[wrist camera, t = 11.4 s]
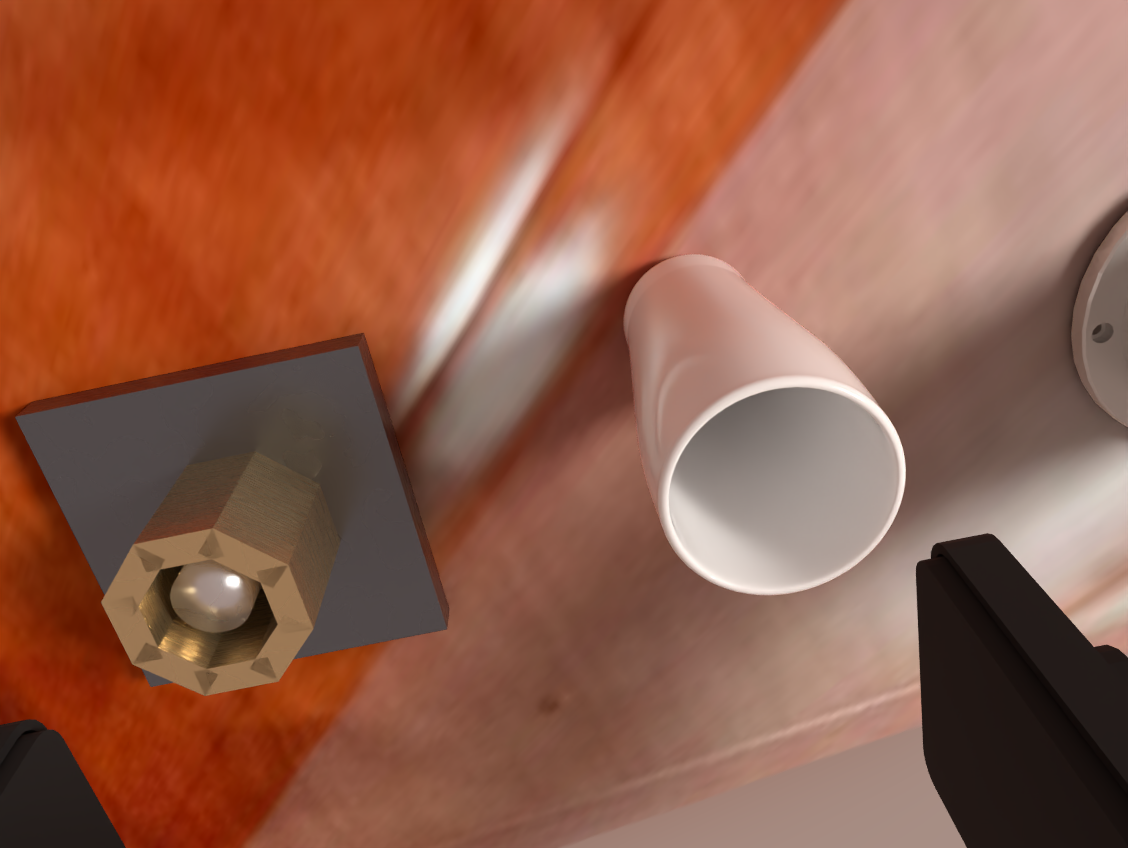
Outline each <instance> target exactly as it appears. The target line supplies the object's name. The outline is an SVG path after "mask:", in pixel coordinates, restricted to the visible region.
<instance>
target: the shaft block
mask: <svg viewBox="0 0 1128 848" xmlns="http://www.w3.org/2000/svg"><path fill="white" fill-rule="evenodd" d="M15 418H16V420H17V422H18V424H19V426H20V428H21V430H22V432H23V434H24V436H25V438H26V440H27V442H28V444H29V446H30V448H31V450H32V452H33V454H34V456H35V458H36V460H37V462H38V464H39V466H40V468H41V470H42V472H43V474H44V476H45V478H46V480H47V482H48V484H49V486H50V488H51V490H52V492H53V494H54V496H55V498H56V500H57V501H58V503H59V505H60V507H61V509H62V511H63V513H64V515H65V517H66V519H67V521H68V523H69V525H70V527H71V529H72V531H73V533H74V535H75V537H76V539H77V541H78V543H79V545H80V547H81V549H82V551H83V553H84V555H85V557H86V559H87V561H88V563H89V565H90V567H91V569H92V571H93V573H94V575H95V577H96V579H97V581H98V583H99V585H100V587H101V589H102V591H103V593H104V595H105V594H106V593H107V591H108V589H109V587H110V585H111V584H112V582H113V580H114V578H115V576H116V574H117V573H118V571H119V569H120V567H121V565H122V564H123V562H124V560H125V558H126V556H127V555H128V553H129V551H130V549H131V547H132V546H133V544H134V542H135V541H136V540H137V538H138V537H139V535H140V534H141V532H142V531H143V529H144V528H145V526H146V525H147V523H148V522H149V520H150V519H151V518H152V516H153V515H154V513H155V512H156V510H157V509H158V507H159V506H160V504H161V503H162V501H163V500H164V499H165V497H166V496H167V494H168V493H169V491H170V490H171V488H172V487H173V485H174V484H175V482H176V481H177V479H178V478H179V477H180V475H181V474H182V472H183V471H184V469H185V468H186V466H187V465H191V464H196V463H201V462H206V461H211V460H216V459H220V458H225V457H230V456H235V455H240V454H245V453H250V452H254V451H256V452H258V453H260V454H262V455H264V456H266V457H268V458H270V459H272V460H273V461H275V462H277V463H279V464H281V465H283V466H285V467H287V468H289V469H291V470H293V471H295V472H297V473H299V474H301V475H303V476H304V477H306V478H308V479H310V480H312V481H314V482H316V483H318V484H320V487H321V489H322V492H323V495H324V498H325V501H326V503H327V506H328V509H329V512H330V514H331V517H332V520H333V523H334V526H335V528H336V531H337V534H338V537H339V539H340V545H339V548H338V552H337V555H336V558H335V561H334V564H333V568H332V571H331V574H330V577H329V581H328V584H327V587H326V590H325V593H324V597H323V600H322V603H321V606H320V609H319V613H318V616H317V619H316V622H315V626H314V629H313V630H312V632H311V633H310V635H309V636H308V638H307V639H306V641H305V642H304V644H303V645H302V647H301V648H300V650H299V651H298V653H297V654H296V656H295V657H294V659H297V658H302V657H307V656H312V655H317V654H322V653H328V652H333V651H338V650H343V649H348V648H353V647H358V646H364V645H369V644H374V643H379V642H384V641H389V640H394V639H400V638H405V637H410V636H415V635H420V634H425V633H430V632H436V631H441V630H446V629H447V627H448V617H449V607H448V603H447V600H446V597H445V594H444V591H443V587H442V584H441V581H440V578H439V574H438V571H437V568H436V565H435V562H434V558H433V555H432V552H431V549H430V545H429V542H428V539H427V536H426V532H425V529H424V526H423V523H422V520H421V516H420V513H419V510H418V507H417V503H416V500H415V497H414V494H413V490H412V487H411V484H410V481H409V478H408V474H407V471H406V468H405V465H404V461H403V458H402V455H401V452H400V449H399V445H398V442H397V439H396V436H395V432H394V429H393V426H392V423H391V419H390V416H389V413H388V410H387V407H386V403H385V400H384V397H383V394H382V390H381V387H380V384H379V381H378V377H377V374H376V371H375V368H374V365H373V361H372V358H371V355H370V352H369V348H368V345H367V342H366V339H365V336H364V333H361V334H356V335H351V336H347V337H342V338H337V339H332V340H327V341H322V342H318V343H313V344H308V345H303V346H298V347H294V348H289V349H284V350H279V351H274V352H269V353H265V354H260V355H255V356H250V357H245V358H241V359H236V360H231V361H226V362H221V363H217V364H212V365H207V366H202V367H197V368H192V369H188V370H183V371H178V372H173V373H168V374H164V375H159V376H154V377H149V378H144V379H139V380H135V381H130V382H125V383H120V384H115V385H111V386H106V387H101V388H96V389H91V390H86V391H82V392H77V393H72V394H67V395H62V396H58V397H53V398H48V399H43V400H38V401H34V402H32V403H31V404H29V405H28V406H27V407H26V408H25V409H24V410H22V411H21V412H20V413H19V414H18V415H17V416H15ZM261 587H262V585H261V583H260V582H258V581H256V580H254V579H252V578H250V577H248V576H246V575H243V574H241V573H239V572H237V571H235V570H233V569H231V568H229V567H227V566H224V565H222V564H220V563H218V562H216V561H214V560H212V559H210V560H205V561H200V562H195V563H190V564H185V565H184V566H183V568H182V569H181V571H180V573H179V575H178V576H177V578H176V580H175V582H174V583H173V586H172V588H171V593H170V599H171V604H172V606H173V609H174V610H175V612H176V613H177V615H178V616H179V617H180V618H181V619H182V620H183V621H184V622H185V623H187V624H188V625H190V626H192V627H194V628H196V629H199V630H202V631H206V632H214V633H218V632H226V631H230V630H233V629H235V628H237V627H239V626H240V625H242V624H243V623H244V622H245V621H246V620H247V618H248V617H249V615H250V613H251V611H252V608H253V606H254V603H255V601H256V599H257V596H258V594H259V592H260V589H261ZM141 669H142V668H141ZM142 671H143V673H144V675H145V677H146V679H147V680H148V682H149V684H150V686H151V687H153V686H158V685H163V684H168V683H173V682H172V681H170V680H167V679H165V678H163V677H160V676H158V675H156V674H153V673H151V672H149V671H146V670H144V669H142Z"/></svg>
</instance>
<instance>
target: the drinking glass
mask: <svg viewBox="0 0 1128 848" xmlns="http://www.w3.org/2000/svg"><path fill="white" fill-rule="evenodd" d="M624 333H625V338H626V342H627V345H628V348H629V355H630V365H631V376H632V388H633V400H634V413H635V424H636V433H637V442H638V448H639V454H640V459H641V463H642V467H643V472H644V476H645V479H646V483H647V486H648V489H649V492H650V495H651V498H652V501H653V504H654V507H655V510H656V512H657V515H658V517H659V520H660V522H661V525H662V528H663V531H664V534H665V536H666V538H667V540H668V542H669V544H670V545H671V547H672V548H673V550H674V552H675V553H676V554H677V555H678V557H679V558H680V559H681V560H682V561H683V562H684V563H685V564H686V565H687V566H688V567H689V568H690V569H691V570H693V571H694V572H695V573H696V574H698V575H699V576H701V577H702V578H704V579H705V580H707V581H709V582H711V583H713V584H715V585H717V586H720V587H723V588H725V589H728V590H732V591H735V592H740V593H745V594H753V595H782V594H789V593H795V592H799V591H804V590H807V589H810V588H813V587H816V586H819V585H821V584H824V583H826V582H828V581H830V580H832V579H834V578H836V577H838V576H840V575H841V574H843V573H845V572H847V571H848V570H849V569H851V568H852V567H854V566H855V565H856V564H858V563H859V562H860V561H861V560H862V559H864V558H865V557H866V556H867V555H868V554H869V553H870V552H871V551H872V550H873V549H874V548H875V547H876V546H877V544H878V543H879V542H880V541H881V540H882V538H883V537H884V535H885V534H886V533H887V531H888V529H889V528H890V526H891V524H892V523H893V521H894V519H895V516H896V514H897V512H898V510H899V507H900V504H901V501H902V497H903V493H904V487H905V480H906V466H905V457H904V452H903V447H902V444H901V441H900V438H899V436H898V434H897V432H896V429H895V427H894V426H893V424H892V423H891V421H890V419H889V418H888V417H887V415H886V414H885V413H884V412H883V410H882V409H881V407H880V406H879V404H878V403H877V402H876V400H875V399H874V397H873V396H872V395H871V393H870V392H869V391H868V390H867V388H866V387H865V386H864V385H863V383H862V382H861V381H860V380H859V378H858V377H857V376H856V375H855V374H854V373H853V371H852V370H851V369H850V368H849V367H848V366H847V365H846V364H845V363H844V362H843V361H842V360H841V359H840V358H839V357H838V356H837V355H836V354H835V353H834V352H833V351H832V350H831V349H830V348H829V347H828V346H827V345H826V344H825V343H824V342H822V341H821V340H820V339H819V338H817V337H816V336H815V335H814V334H812V333H811V332H810V331H809V330H807V329H806V328H805V327H804V326H802V325H801V324H800V323H798V322H797V321H796V320H794V319H793V318H792V317H790V316H789V315H788V314H787V313H785V312H784V311H783V310H781V309H780V308H779V307H777V306H776V305H775V304H774V303H772V302H771V301H770V300H768V299H767V298H766V297H765V296H763V295H762V294H761V293H760V292H758V291H757V290H756V289H755V288H753V287H752V286H751V285H750V284H749V283H748V282H747V281H746V280H745V279H744V277H743V276H742V275H741V274H740V273H739V272H738V271H737V270H736V269H734V268H733V267H732V266H731V265H729V264H727V263H726V262H724V261H722V260H720V259H717V258H715V257H711V256H707V255H701V254H686V255H679V256H675V257H672V258H669V259H667V260H664V261H662V262H660V263H659V264H657V265H655V266H654V267H652V268H651V269H650V270H648V271H647V272H646V273H645V274H644V275H643V276H642V277H641V278H640V279H639V281H638V282H637V283H636V285H635V286H634V288H633V289H632V291H631V293H630V295H629V297H628V300H627V303H626V306H625V312H624Z"/></svg>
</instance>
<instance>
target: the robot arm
mask: <svg viewBox="0 0 1128 848" xmlns="http://www.w3.org/2000/svg"><path fill="white" fill-rule="evenodd" d="M1071 340H1072V348H1073V357H1074V363H1075V365H1076V368H1077V371H1078V373H1079V376H1080V379H1081V382H1082V384H1083V385H1084V387H1085V388H1086V390H1087V391H1088V393H1089V394H1090V396H1091V397H1092V399H1093V400H1094V402H1095V403H1096V404H1097V405H1099V406H1100V407H1101V408H1102V409H1103V410H1104V411H1105V412H1106V413H1108V414H1109V415H1110V416H1111V417H1112V418H1114V419H1115V420H1117V421H1118V422H1120V423H1121V424H1123V425H1125V426H1126V427H1128V211H1127V212H1126V213H1125V214H1124V215H1123V216H1122V217H1121V218H1120V220H1119V221H1118V222H1117V223H1116V224H1115V225H1114V226H1113V227H1112V229H1111V230H1110V232H1109V233H1108V235H1107V236H1106V238H1105V239H1104V241H1103V242H1102V244H1101V245H1100V246H1099V248H1098V249H1097V251H1096V252H1095V254H1094V256H1093V258H1092V260H1091V262H1090V264H1089V267H1088V269H1087V271H1086V273H1085V275H1084V277H1083V279H1082V281H1081V285H1080V288H1079V292H1078V295H1077V299H1076V302H1075V306H1074V309H1073V320H1072V332H1071ZM916 586H917V610H918V634H919V658H920V681H921V705H922V729H923V749H924V756H925V761H926V765H927V768H928V772H929V774H930V777H931V779H932V782H933V784H934V786H935V788H936V790H937V792H938V794H939V795H940V798H941V799H942V801H943V803H944V805H945V807H946V809H947V811H948V813H949V815H950V816H951V818H952V820H953V822H954V824H955V825H956V828H957V830H958V832H959V833H960V835H961V837H962V839H963V841H964V843H965V845H966V847H967V848H1128V657H1127V656H1126V655H1125V654H1123V653H1122V652H1121V651H1120V650H1119V649H1117V648H1114V647H1112V646H1109V645H1103V646H1097V647H1093V646H1092V644H1091V643H1090V642H1089V641H1088V640H1087V639H1086V638H1085V636H1084V635H1083V634H1082V633H1081V632H1080V631H1079V630H1078V629H1077V627H1076V626H1075V625H1074V624H1073V623H1072V622H1071V621H1070V620H1069V618H1068V617H1067V616H1066V615H1065V614H1064V613H1063V612H1062V610H1061V609H1060V608H1059V607H1058V606H1057V605H1056V604H1055V603H1054V601H1053V600H1052V599H1051V598H1050V597H1049V596H1048V595H1047V594H1046V592H1045V591H1044V590H1043V589H1042V588H1041V587H1040V586H1039V584H1038V583H1037V582H1036V581H1035V580H1034V579H1033V578H1032V577H1031V575H1030V574H1029V573H1028V572H1027V571H1026V570H1025V569H1024V567H1023V566H1022V565H1021V564H1020V563H1019V562H1018V561H1017V560H1016V558H1015V557H1014V556H1013V555H1012V554H1011V553H1010V552H1009V551H1008V549H1007V548H1006V547H1005V546H1004V545H1003V544H1002V543H1001V541H1000V540H999V539H997V538H996V537H995V536H994V535H992V534H988V533H987V534H982V535H977V536H972V537H966V538H961V539H956V540H951V541H946V542H941V543H936V544H935V545H934V546H933V548H932V551H931V559H927V560H922V561H919V562H918V563H917V566H916ZM0 848H126V847H125V846H124V844H123V842H122V840H121V839H120V837H119V835H118V833H117V832H116V830H115V828H114V826H113V825H112V823H111V821H110V820H109V818H108V816H107V814H106V813H105V811H104V809H103V807H102V806H101V804H100V802H99V800H98V799H97V797H96V795H95V793H94V792H93V790H92V788H91V786H90V785H89V783H88V781H87V779H86V778H85V776H84V774H83V772H82V771H81V769H80V767H79V765H78V764H77V762H76V760H75V758H74V757H73V755H72V753H71V751H70V750H69V748H68V746H67V744H66V743H65V741H64V739H63V738H62V736H61V735H60V734H59V733H58V732H56V731H55V730H47V728H46V727H45V726H44V725H43V724H42V723H40V722H39V721H37V720H23V721H18V722H13V723H8V724H3V725H0Z"/></svg>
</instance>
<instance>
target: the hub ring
mask: <svg viewBox="0 0 1128 848" xmlns="http://www.w3.org/2000/svg"><path fill="white" fill-rule="evenodd" d="M339 545H340V539H339V537H338V534H337V531H336V528H335V526H334V523H333V520H332V517H331V514H330V512H329V509H328V506H327V503H326V501H325V498H324V495H323V492H322V489H321V487H320V484H318V483H316V482H314V481H312V480H310V479H308V478H306V477H304V476H303V475H301V474H299V473H297V472H295V471H293V470H291V469H289V468H287V467H285V466H283V465H281V464H279V463H277V462H275V461H273V460H272V459H270V458H268V457H266V456H264V455H262V454H260V453H258V452H256V451H254V452H250V453H245V454H240V455H235V456H230V457H225V458H220V459H216V460H211V461H206V462H201V463H196V464H191V465H187V466H186V468H185V469H184V471H183V472H182V474H181V475H180V477H179V478H178V479H177V481H176V482H175V484H174V485H173V487H172V488H171V490H170V491H169V493H168V494H167V496H166V497H165V499H164V500H163V501H162V503H161V504H160V506H159V507H158V509H157V510H156V512H155V513H154V515H153V516H152V518H151V519H150V520H149V522H148V523H147V525H146V526H145V528H144V529H143V531H142V532H141V534H140V535H139V537H138V538H137V540H136V541H135V542H134V544H133V546H132V547H131V549H130V551H129V553H128V555H127V556H126V558H125V560H124V562H123V564H122V565H121V567H120V569H119V571H118V573H117V574H116V576H115V578H114V580H113V582H112V584H111V585H110V587H109V589H108V591H107V593H106V594H105V596H104V598H103V600H102V602H101V603H102V605H103V607H104V609H105V611H106V613H107V615H108V617H109V619H110V621H111V623H112V625H113V627H114V629H115V631H116V633H117V635H118V637H119V639H120V641H121V643H122V645H123V647H124V649H125V651H126V653H127V654H128V656H129V658H130V660H131V662H132V664H133V665H135V666H137V667H140V668H142V669H144V670H146V671H149V672H151V673H153V674H156V675H158V676H160V677H163V678H165V679H167V680H170V681H172V682H174V683H177V684H179V685H181V686H184V687H186V688H188V689H191V690H193V691H195V692H198V693H200V694H202V695H204V696H206V695H211V694H217V693H222V692H227V691H232V690H237V689H242V688H247V687H252V686H258V685H263V684H268V683H273V682H278V681H279V680H280V678H281V677H282V675H283V674H284V672H285V671H286V669H287V668H288V666H289V665H290V663H291V662H292V660H293V659H294V657H295V656H296V654H297V653H298V651H299V650H300V648H301V647H302V645H303V644H304V642H305V641H306V639H307V638H308V636H309V635H310V633H311V632H312V630H313V629H314V626H315V622H316V619H317V616H318V613H319V609H320V606H321V603H322V600H323V597H324V593H325V590H326V587H327V584H328V581H329V577H330V574H331V571H332V568H333V564H334V561H335V558H336V555H337V552H338V548H339ZM210 559H212V560H214V561H216V562H218V563H220V564H222V565H224V566H227V567H229V568H231V569H233V570H235V571H237V572H239V573H241V574H243V575H246V576H248V577H250V578H252V579H254V580H256V581H258V582H260V583H261V585H262V587H261V589H260V592H259V594H258V596H257V599H256V601H255V603H254V606H253V608H252V611H251V613H250V615H249V617H248V618H247V620H246V621H245V622H244V623H243V624H242V625H240V626H239V627H237V628H235V629H233V630H230V631H226V632H218V633H214V632H206V631H202V630H199V629H196V628H194V627H192V626H190V625H188V624H187V623H185V622H184V621H183V620H182V619H181V618H180V617H179V616H178V615H177V613H176V612H175V610H174V609H173V606H172V604H171V599H170V593H171V588H172V586H173V583H174V582H175V580H176V578H177V576H178V575H179V573H180V571H181V569H182V568H183V566H184V565H185V564H190V563H195V562H200V561H205V560H210Z"/></svg>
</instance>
